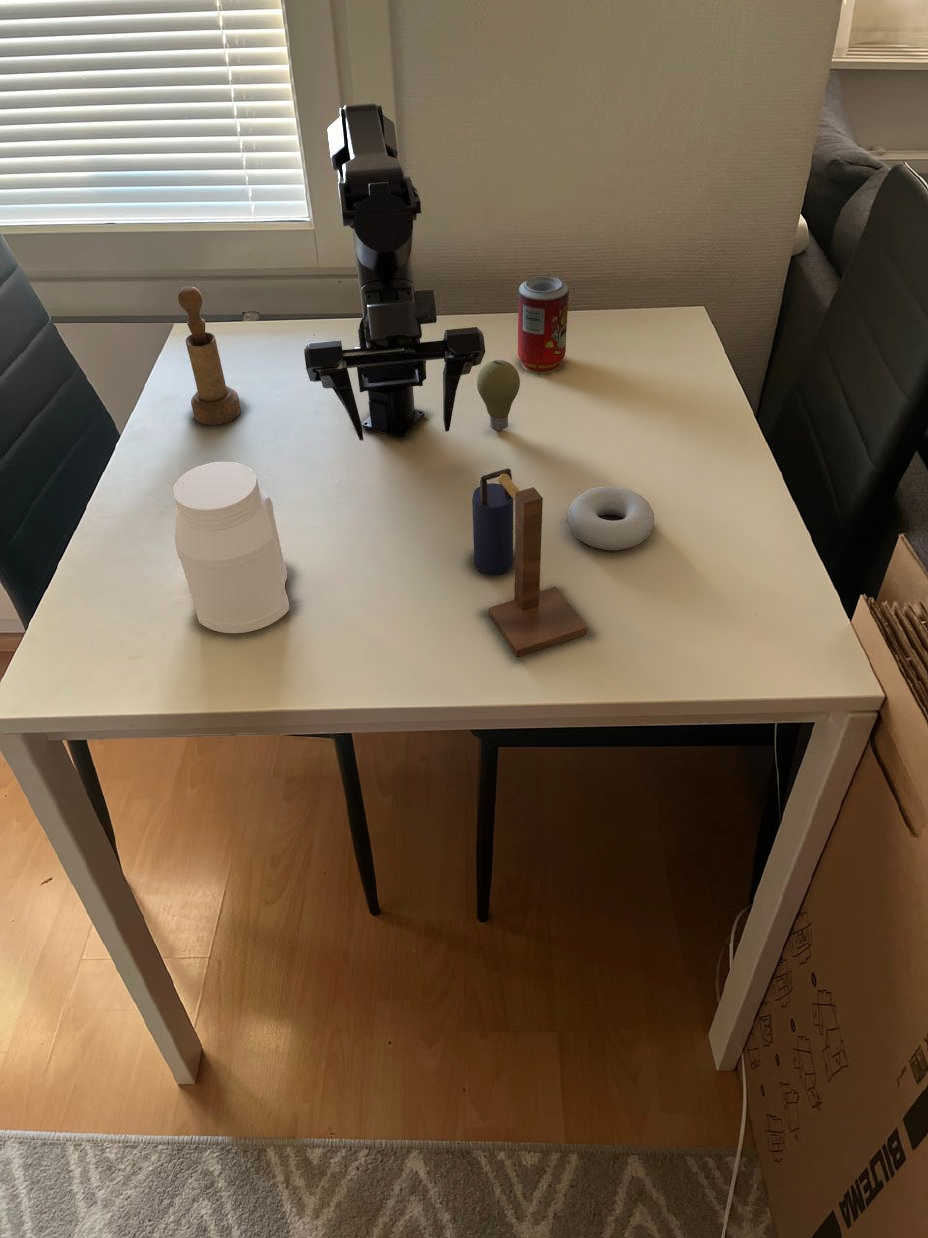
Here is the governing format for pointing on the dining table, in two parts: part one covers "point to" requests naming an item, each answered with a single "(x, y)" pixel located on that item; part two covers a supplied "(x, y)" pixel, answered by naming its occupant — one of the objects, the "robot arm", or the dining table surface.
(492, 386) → the light bulb
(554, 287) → the soda can
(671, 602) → the dining table surface
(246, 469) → the jar
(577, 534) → the donut
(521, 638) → the hook stand
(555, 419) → the dining table surface
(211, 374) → the mortar and pestle
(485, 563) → the blue handled weight
